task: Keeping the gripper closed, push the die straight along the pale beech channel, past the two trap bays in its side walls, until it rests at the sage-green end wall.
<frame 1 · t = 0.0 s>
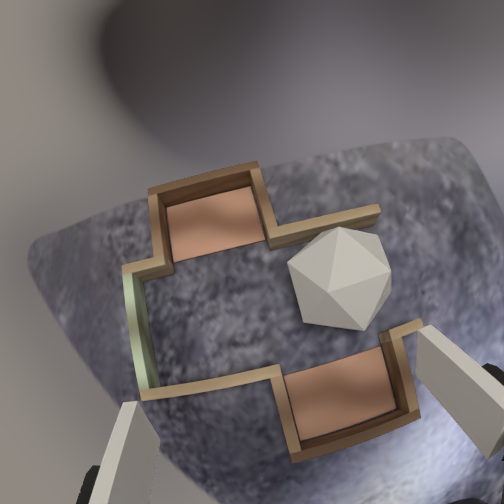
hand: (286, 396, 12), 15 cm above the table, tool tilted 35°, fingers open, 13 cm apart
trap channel: (274, 305, 29), on the table
die: (333, 290, 30), on the table
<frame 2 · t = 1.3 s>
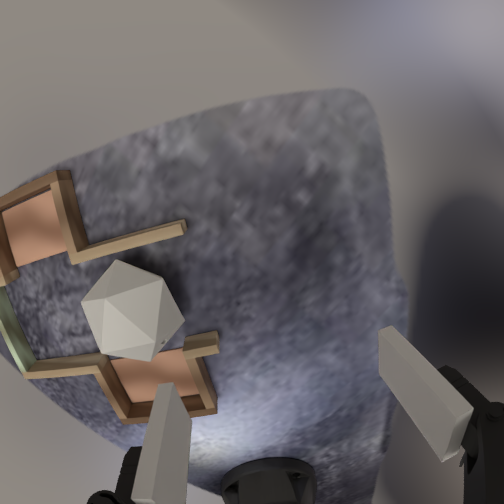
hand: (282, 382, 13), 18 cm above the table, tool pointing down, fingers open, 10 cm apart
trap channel: (94, 307, 30), on the table
die: (142, 295, 31), on the table
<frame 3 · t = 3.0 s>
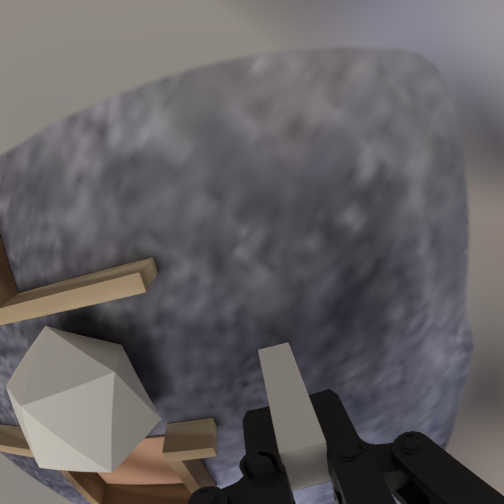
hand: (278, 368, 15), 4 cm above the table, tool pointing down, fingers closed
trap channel: (38, 376, 18), on the table
die: (99, 368, 18), on the table
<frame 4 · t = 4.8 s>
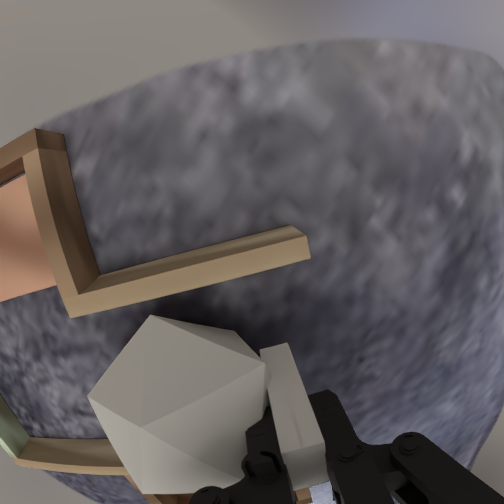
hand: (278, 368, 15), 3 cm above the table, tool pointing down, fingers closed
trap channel: (114, 377, 17), on the table
die: (199, 361, 17), on the table, touching gripper
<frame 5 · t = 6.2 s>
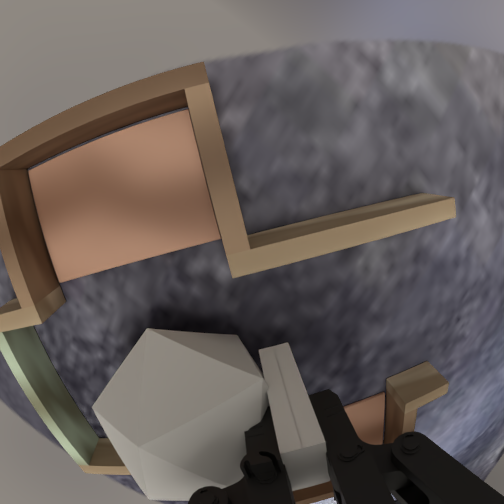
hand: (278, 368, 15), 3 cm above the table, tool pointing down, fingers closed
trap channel: (238, 354, 17), on the table
die: (204, 364, 17), on the table, touching gripper
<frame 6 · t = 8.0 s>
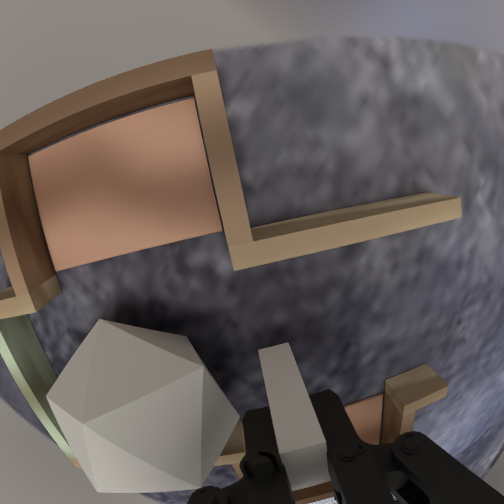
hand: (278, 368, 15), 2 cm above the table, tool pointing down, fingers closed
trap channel: (236, 350, 17), on the table
die: (155, 365, 17), on the table
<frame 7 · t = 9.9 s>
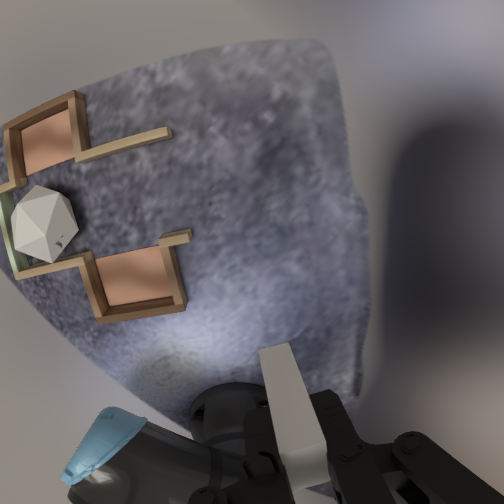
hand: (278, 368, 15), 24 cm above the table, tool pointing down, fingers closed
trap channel: (87, 207, 35), on the table
die: (58, 217, 35), on the table
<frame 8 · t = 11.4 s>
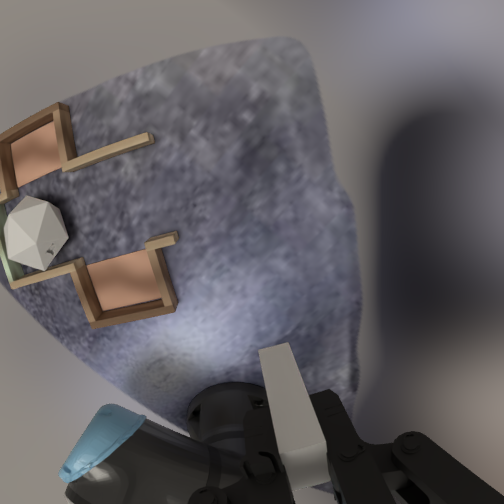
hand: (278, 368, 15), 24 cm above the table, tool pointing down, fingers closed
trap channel: (77, 214, 35), on the table
die: (50, 226, 35), on the table
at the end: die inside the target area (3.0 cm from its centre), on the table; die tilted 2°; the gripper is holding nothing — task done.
